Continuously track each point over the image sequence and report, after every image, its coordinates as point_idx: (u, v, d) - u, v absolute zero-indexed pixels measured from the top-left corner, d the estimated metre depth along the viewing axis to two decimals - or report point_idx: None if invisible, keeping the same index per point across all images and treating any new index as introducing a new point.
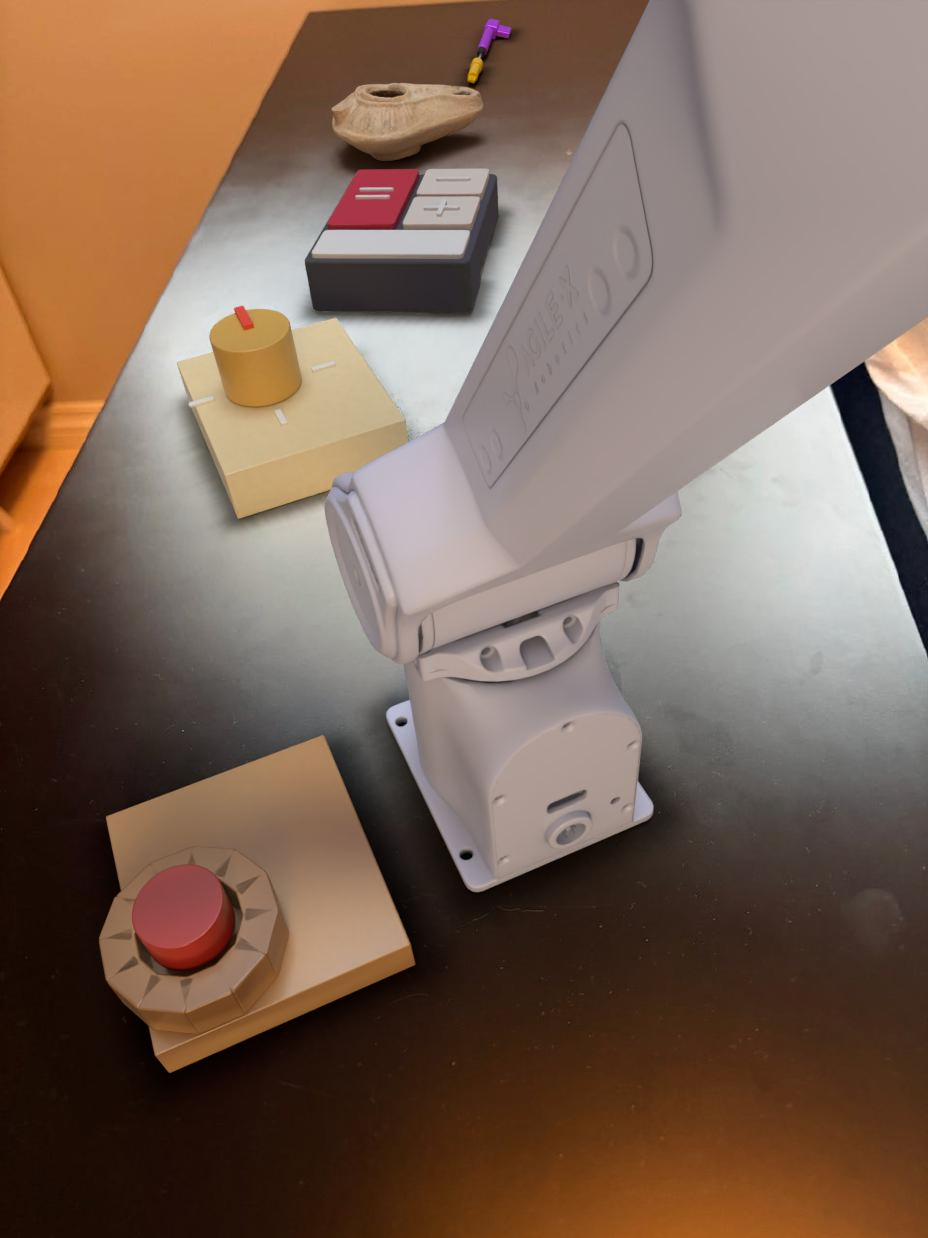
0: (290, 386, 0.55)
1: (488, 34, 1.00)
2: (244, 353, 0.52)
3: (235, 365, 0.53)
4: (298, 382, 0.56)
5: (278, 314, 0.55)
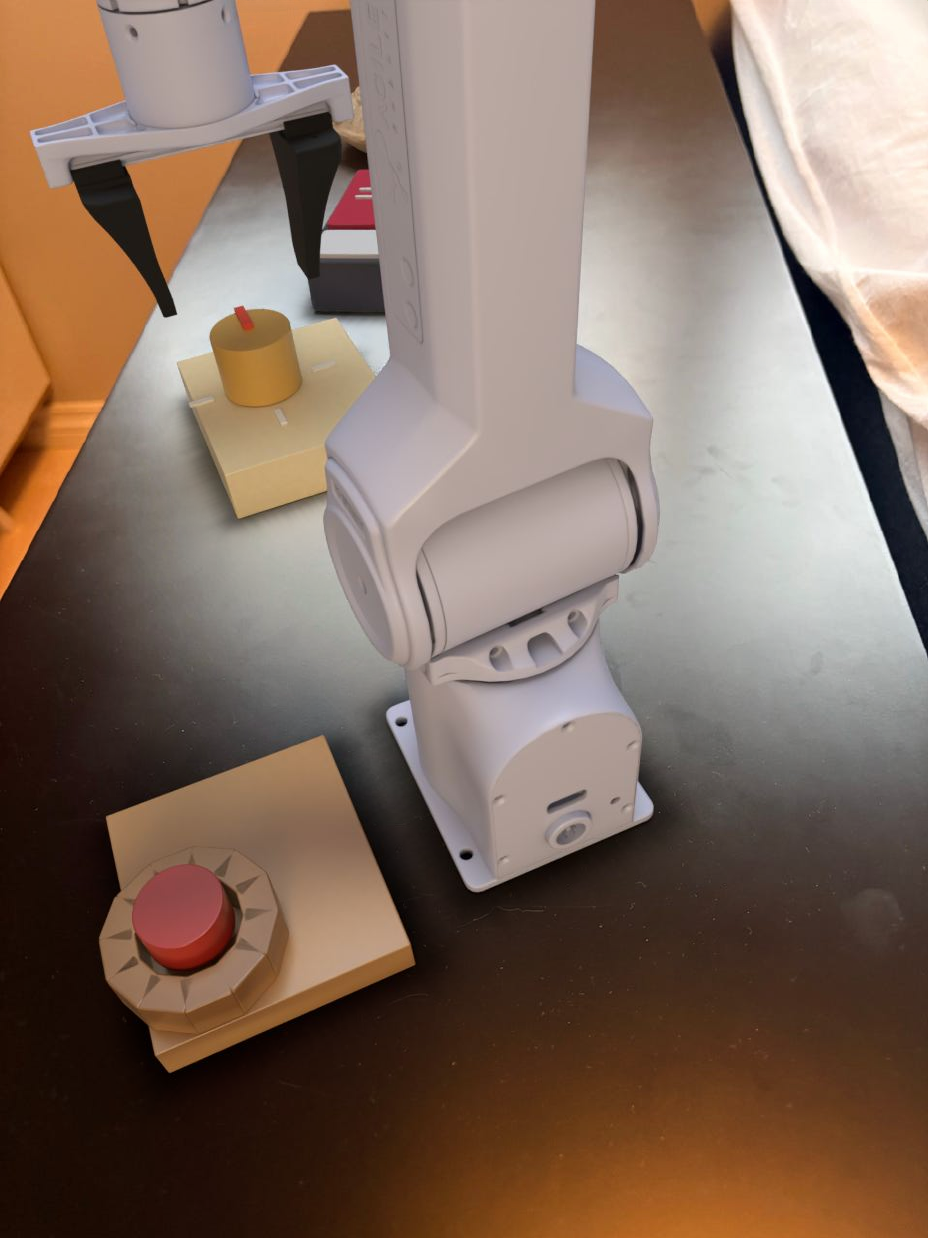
0: (290, 386, 0.55)
1: None
2: (244, 353, 0.52)
3: (235, 365, 0.53)
4: (298, 382, 0.56)
5: (278, 314, 0.55)
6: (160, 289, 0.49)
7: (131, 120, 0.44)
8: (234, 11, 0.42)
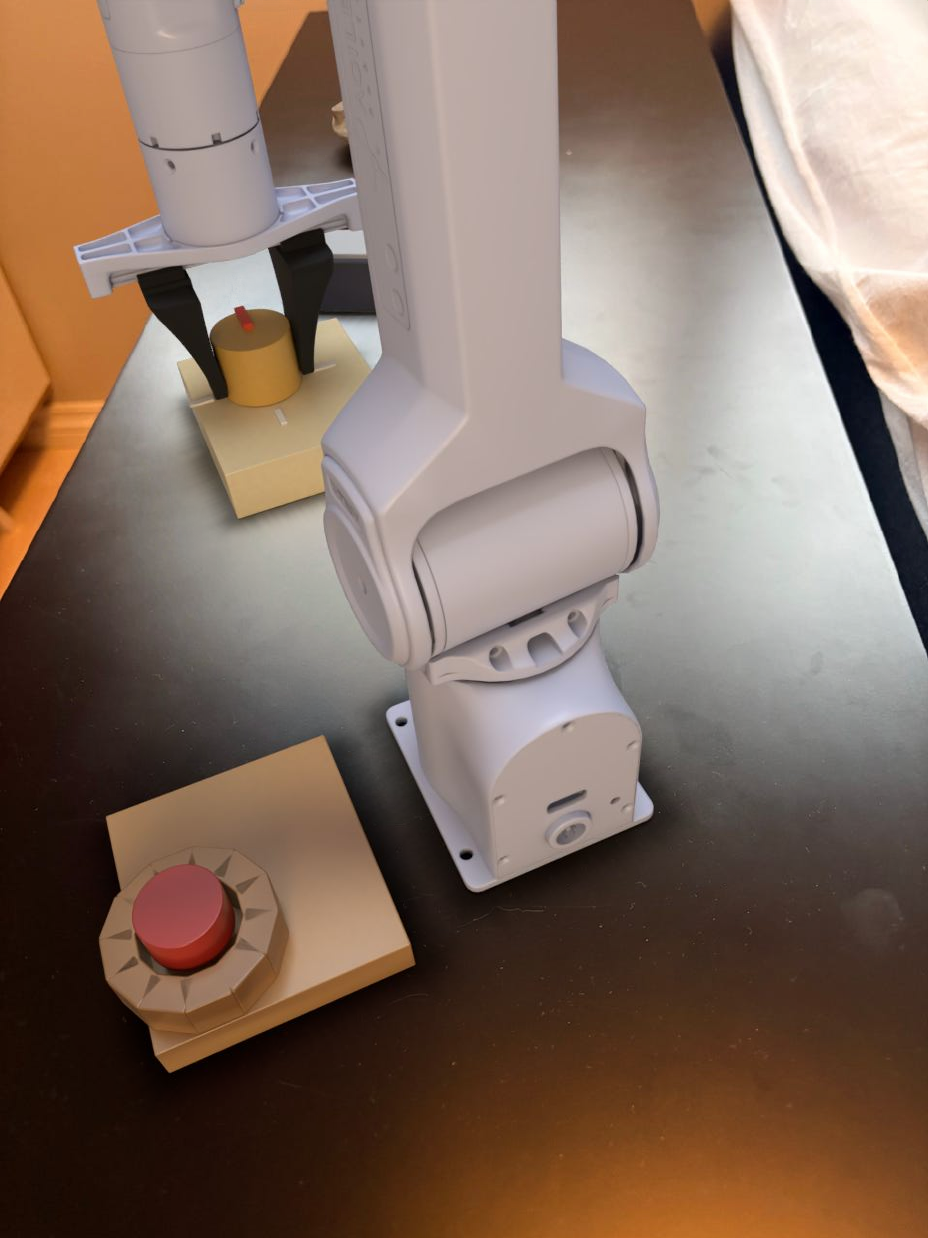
0: (290, 386, 0.55)
1: None
2: (244, 353, 0.52)
3: (235, 365, 0.53)
4: (298, 382, 0.56)
5: (278, 314, 0.55)
6: (214, 376, 0.53)
7: (167, 236, 0.48)
8: (262, 141, 0.46)
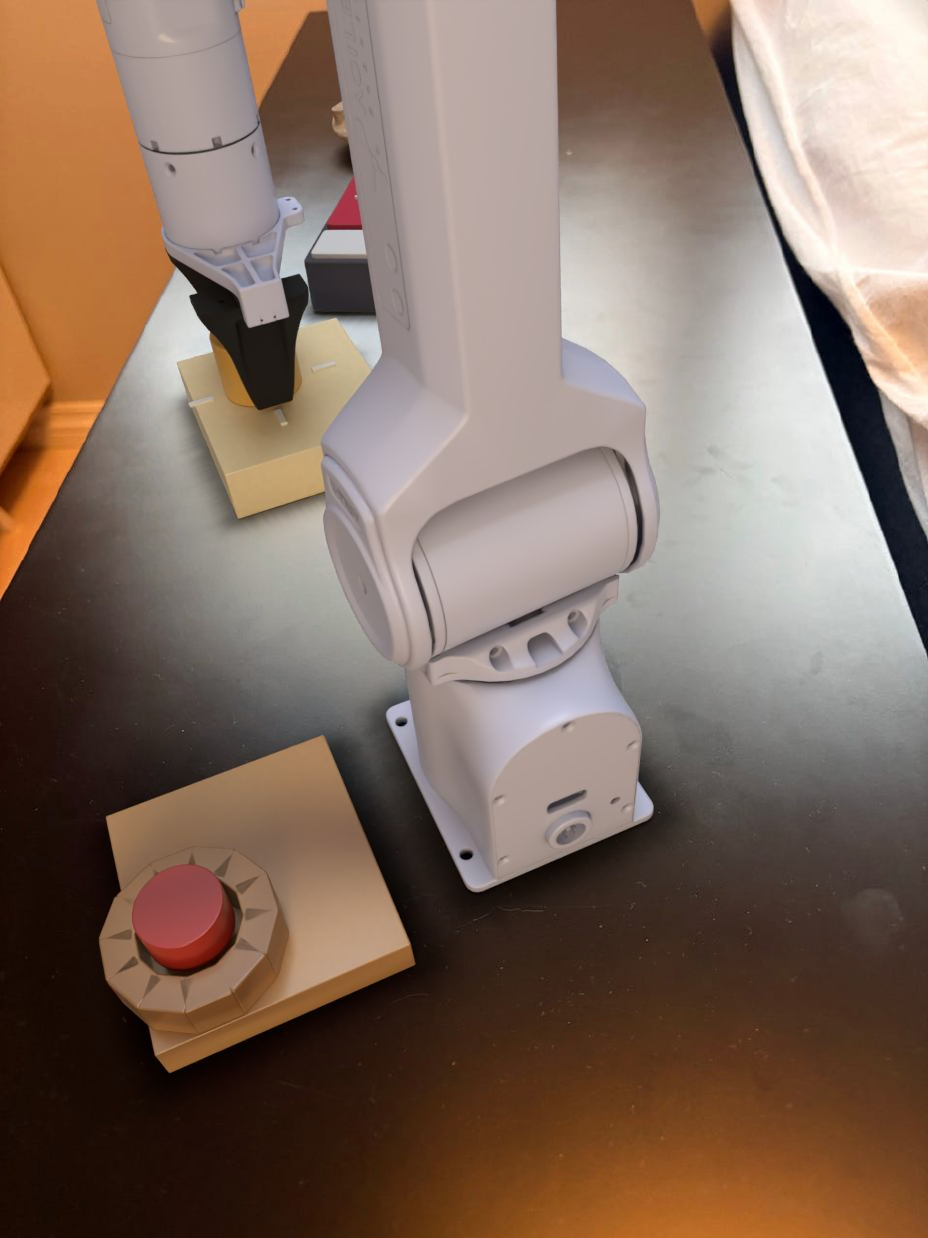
0: (234, 395, 0.55)
1: None
2: None
3: None
4: (246, 401, 0.55)
5: None
6: None
7: None
8: (188, 173, 0.45)
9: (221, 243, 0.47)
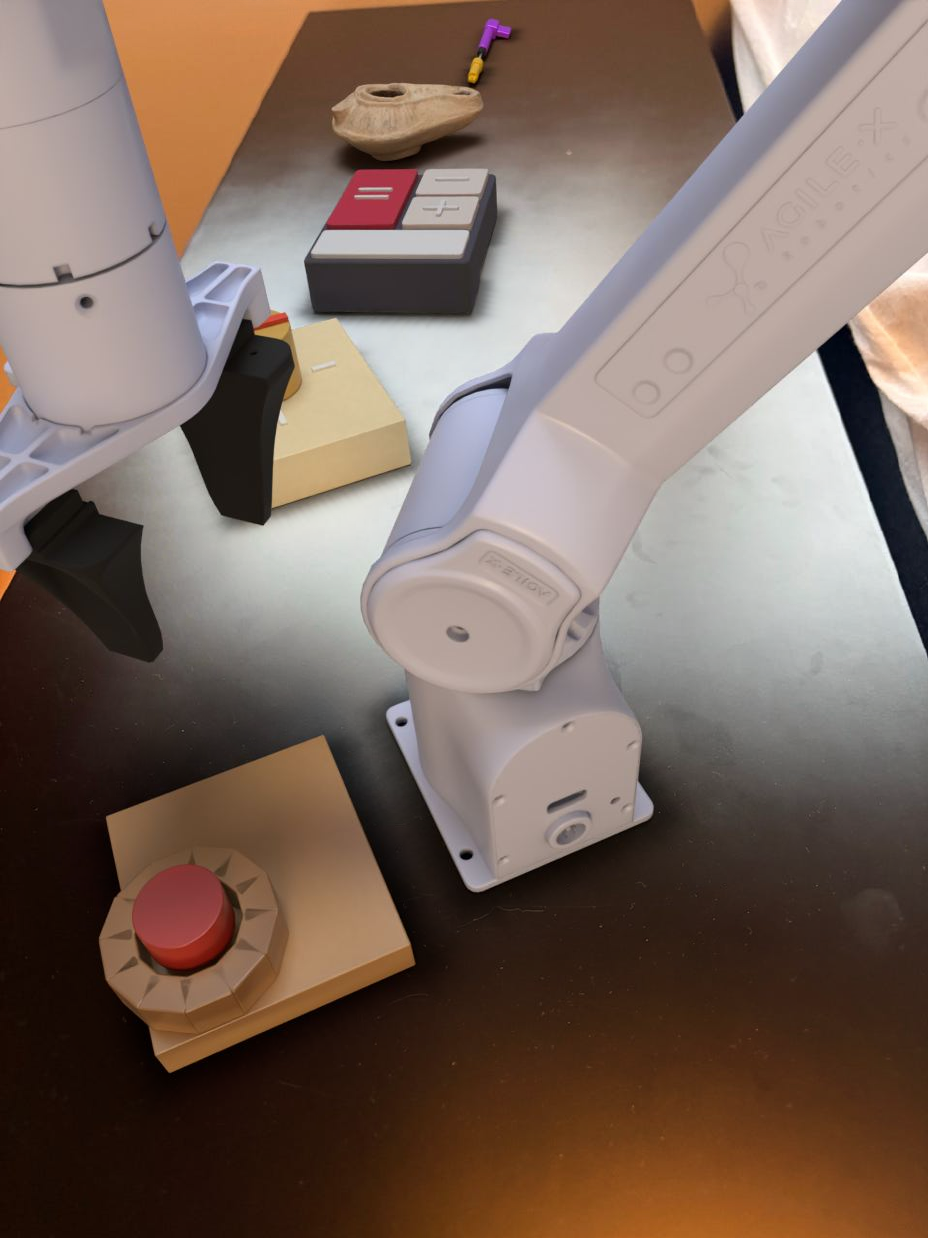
0: None
1: (488, 35, 1.00)
2: None
3: None
4: None
5: None
6: (150, 629, 0.34)
7: (72, 426, 0.29)
8: None
9: None
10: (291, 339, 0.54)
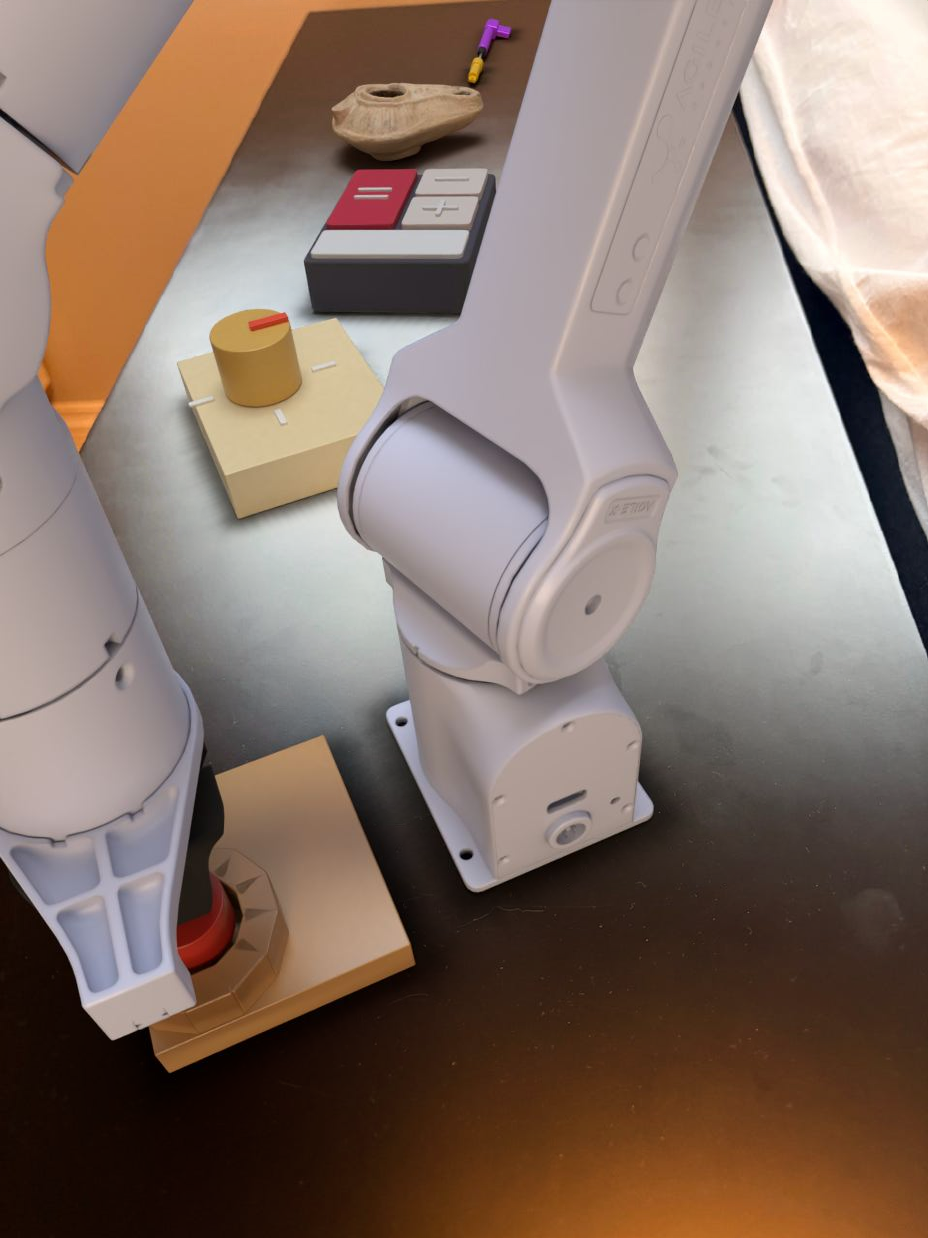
0: (234, 395, 0.55)
1: (488, 35, 1.00)
2: None
3: None
4: (246, 401, 0.55)
5: (271, 341, 0.53)
6: None
7: (119, 819, 0.24)
8: None
9: None
10: (291, 339, 0.54)
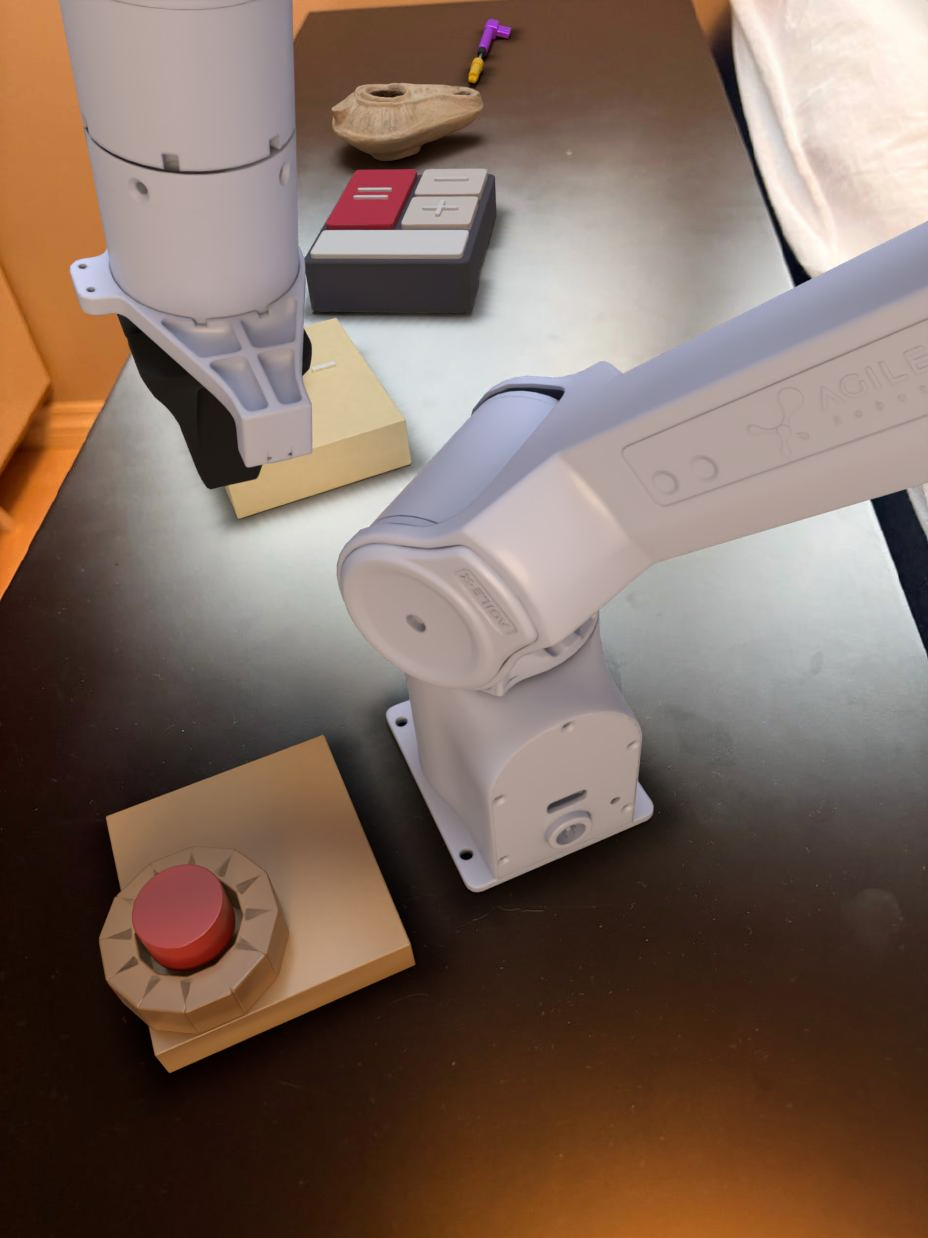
0: None
1: (488, 35, 1.00)
2: None
3: None
4: None
5: None
6: None
7: (250, 312, 0.30)
8: None
9: None
10: None
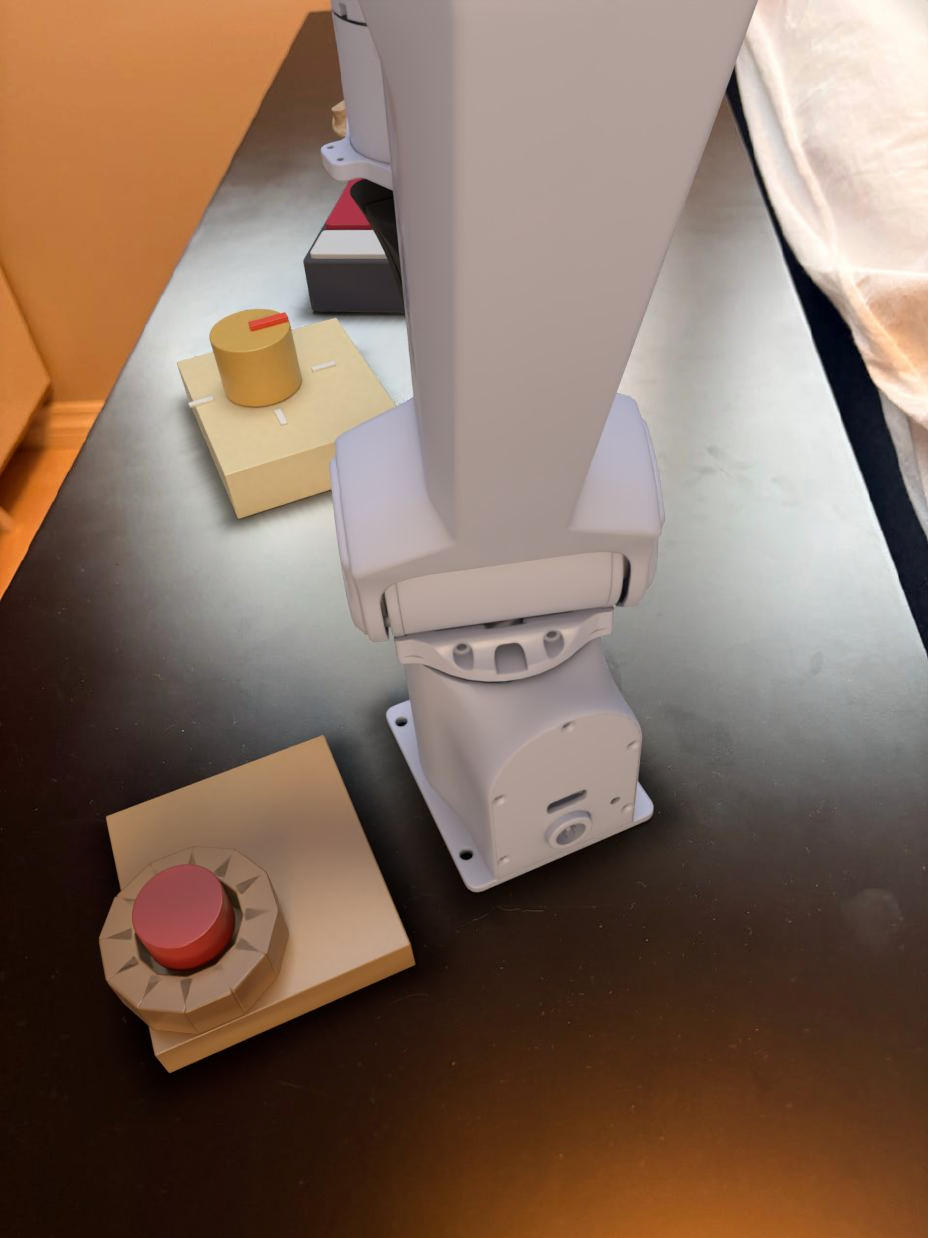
0: (234, 395, 0.55)
1: None
2: None
3: None
4: (246, 401, 0.55)
5: (271, 341, 0.53)
6: None
7: None
8: None
9: None
10: (291, 339, 0.54)
